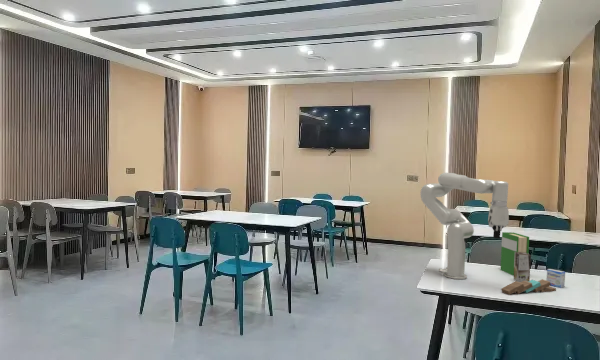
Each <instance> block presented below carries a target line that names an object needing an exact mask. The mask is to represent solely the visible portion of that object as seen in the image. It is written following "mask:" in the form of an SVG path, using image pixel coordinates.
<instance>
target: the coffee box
mask: <svg viewBox="0 0 600 360" xmlns="http://www.w3.org/2000/svg"><path fill="white" fill-rule="evenodd" d="M531 257H532V255H531V254H530V253H529V254H528V253H525V252H515V256H514V276H513V280H514V282H515V281H517V282H522V281H527V282H529V281H531V280H530V278H531V277H530V276H531V274H530V273H531V260H532V259H531Z"/></svg>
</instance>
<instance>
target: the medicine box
mask: <svg viewBox="0 0 600 360" xmlns="http://www.w3.org/2000/svg"><path fill="white" fill-rule="evenodd" d="M545 280H546V281H549V282H550V284H551V285H550V287H553V288H560V289H563V288H565V282H566V271H564V270H559V269H553V268H547V270H546V278H545Z"/></svg>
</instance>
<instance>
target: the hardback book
mask: <svg viewBox="0 0 600 360" xmlns="http://www.w3.org/2000/svg"><path fill="white" fill-rule="evenodd" d="M501 232H502V231H501ZM529 248H530V236H527V235H524V234H521V233H517V232H512V231H511V232H506V231H504V232H502V233H501V253H500V271H502V272H504V273H506V274H508V275H511V276H513V277H514V256H515V252H525V253H528V254H529V255H530V253H529V251H530V249H529Z"/></svg>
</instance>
